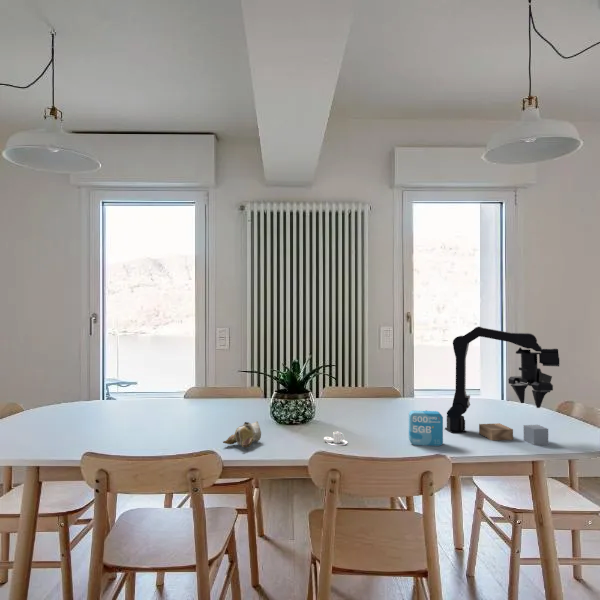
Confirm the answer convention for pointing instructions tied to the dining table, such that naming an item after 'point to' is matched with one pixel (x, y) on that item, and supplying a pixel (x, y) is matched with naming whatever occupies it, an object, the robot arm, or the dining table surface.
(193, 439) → the dining table surface
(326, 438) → the teacup and saucer
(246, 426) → the ceramic sculpture
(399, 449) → the dining table surface
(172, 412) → the dining table surface
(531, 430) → the slate cube
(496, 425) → the walnut block
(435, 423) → the data package
